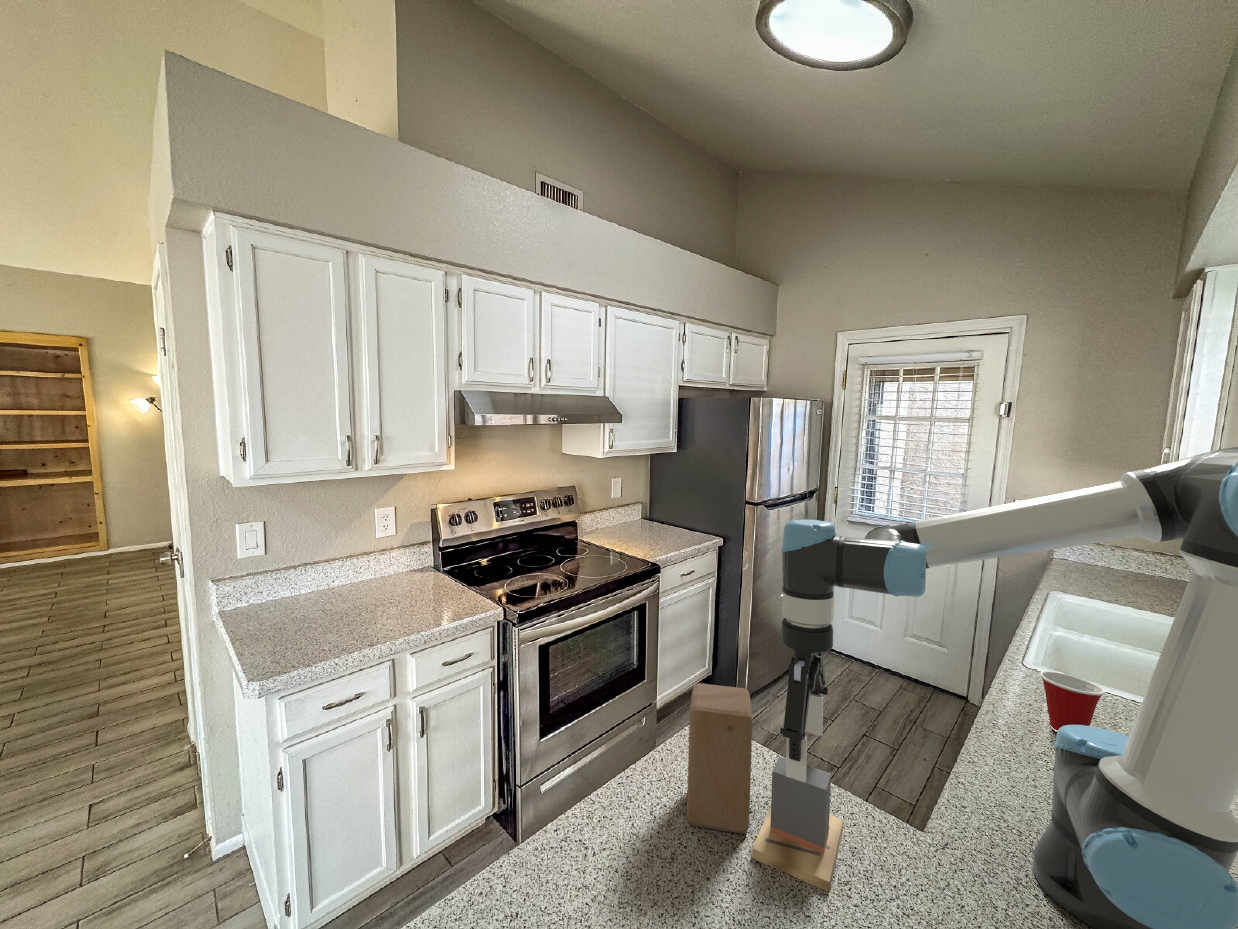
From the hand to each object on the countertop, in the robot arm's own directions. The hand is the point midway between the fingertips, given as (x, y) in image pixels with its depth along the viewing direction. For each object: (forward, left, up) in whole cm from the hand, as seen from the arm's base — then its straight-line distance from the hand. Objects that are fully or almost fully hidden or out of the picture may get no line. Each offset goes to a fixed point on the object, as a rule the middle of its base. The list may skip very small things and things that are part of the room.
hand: (805, 754), depth 80 cm
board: (0, 0, -15) cm, 15 cm away
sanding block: (0, 0, -13) cm, 13 cm away
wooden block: (+14, 0, -15) cm, 20 cm away
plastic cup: (-44, -65, -15) cm, 80 cm away
